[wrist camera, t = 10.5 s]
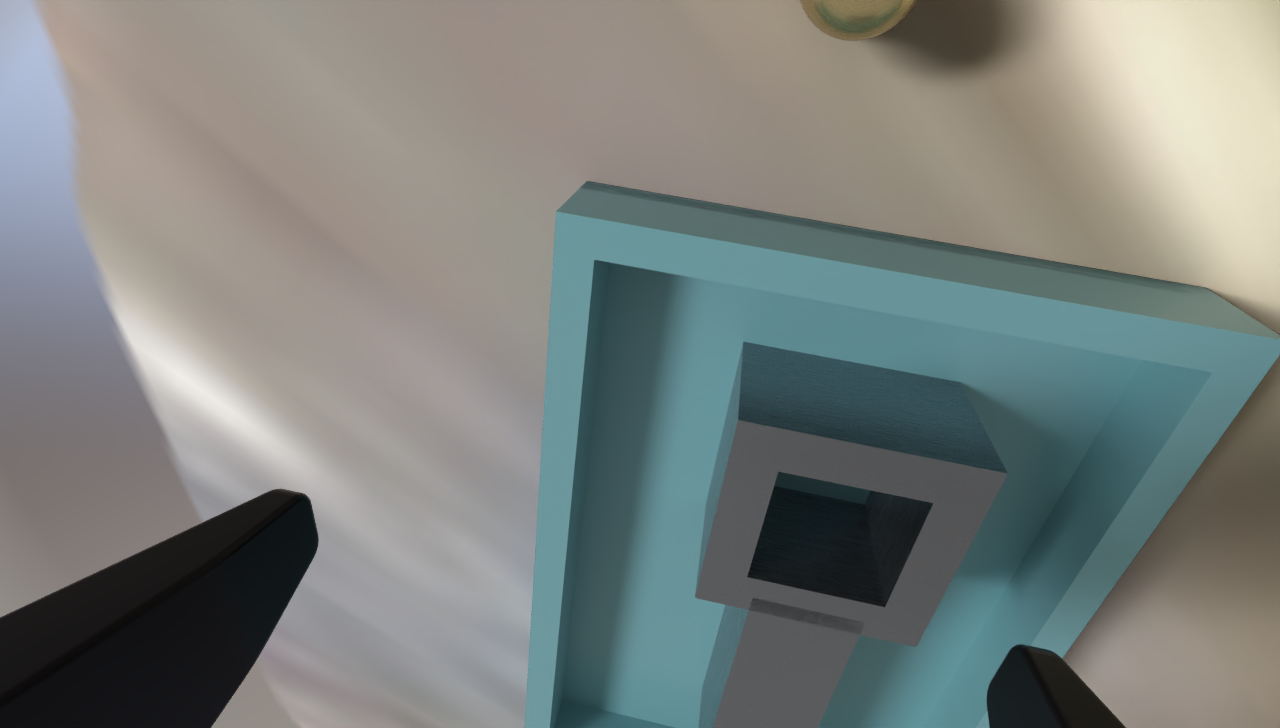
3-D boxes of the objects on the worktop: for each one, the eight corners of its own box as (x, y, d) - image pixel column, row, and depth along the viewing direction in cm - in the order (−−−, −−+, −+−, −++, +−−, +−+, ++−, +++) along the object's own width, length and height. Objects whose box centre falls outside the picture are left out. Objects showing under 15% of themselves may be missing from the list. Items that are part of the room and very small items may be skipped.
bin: (1205, 287, 16) (1289, 341, 14) (904, 779, 28) (918, 858, 25) (587, 181, 18) (555, 211, 15) (544, 691, 29) (522, 758, 26)
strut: (815, 714, 25) (822, 825, 22) (665, 679, 26) (650, 782, 23) (960, 382, 18) (1007, 473, 14) (743, 341, 18) (737, 420, 15)
